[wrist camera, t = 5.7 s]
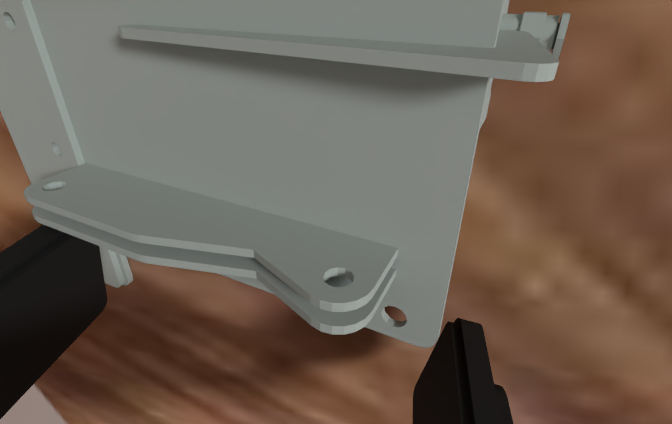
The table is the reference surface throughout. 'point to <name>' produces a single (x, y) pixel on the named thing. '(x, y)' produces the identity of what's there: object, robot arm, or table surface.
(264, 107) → the metal bracket
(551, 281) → the table surface
